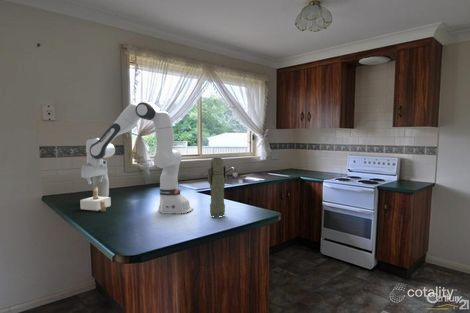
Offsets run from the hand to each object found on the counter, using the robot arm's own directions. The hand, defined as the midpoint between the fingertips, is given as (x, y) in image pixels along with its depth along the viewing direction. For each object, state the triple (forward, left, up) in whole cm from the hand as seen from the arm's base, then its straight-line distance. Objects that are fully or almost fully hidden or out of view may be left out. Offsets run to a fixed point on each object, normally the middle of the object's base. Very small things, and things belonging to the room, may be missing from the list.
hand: (95, 182), depth 195 cm
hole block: (0, 0, -17) cm, 17 cm away
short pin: (-11, +6, -17) cm, 21 cm away
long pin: (0, 0, -17) cm, 17 cm away
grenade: (-86, -3, -17) cm, 87 cm away
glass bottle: (+11, -18, -17) cm, 27 cm away
